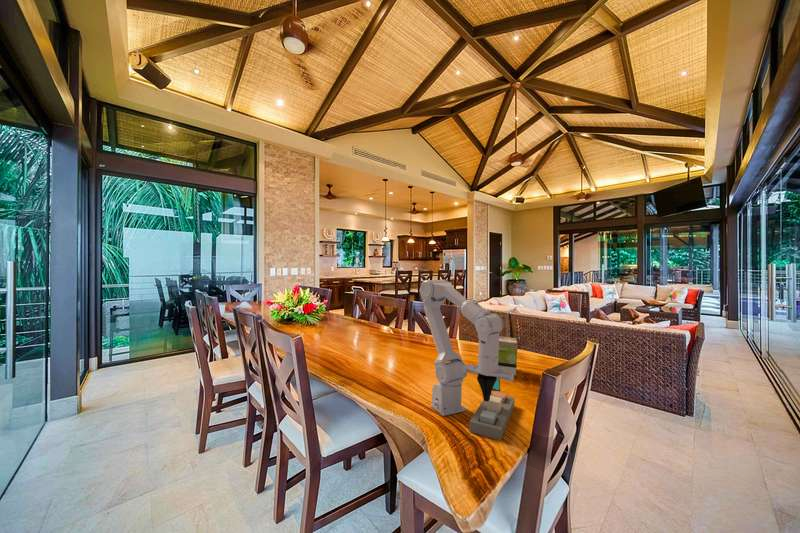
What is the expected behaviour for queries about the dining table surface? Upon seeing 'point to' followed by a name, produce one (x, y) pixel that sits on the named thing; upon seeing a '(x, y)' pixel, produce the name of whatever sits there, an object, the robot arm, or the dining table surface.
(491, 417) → the slate key
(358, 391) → the dining table surface
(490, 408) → the white key
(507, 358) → the tea box
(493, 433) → the key panel
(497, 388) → the smartphone
